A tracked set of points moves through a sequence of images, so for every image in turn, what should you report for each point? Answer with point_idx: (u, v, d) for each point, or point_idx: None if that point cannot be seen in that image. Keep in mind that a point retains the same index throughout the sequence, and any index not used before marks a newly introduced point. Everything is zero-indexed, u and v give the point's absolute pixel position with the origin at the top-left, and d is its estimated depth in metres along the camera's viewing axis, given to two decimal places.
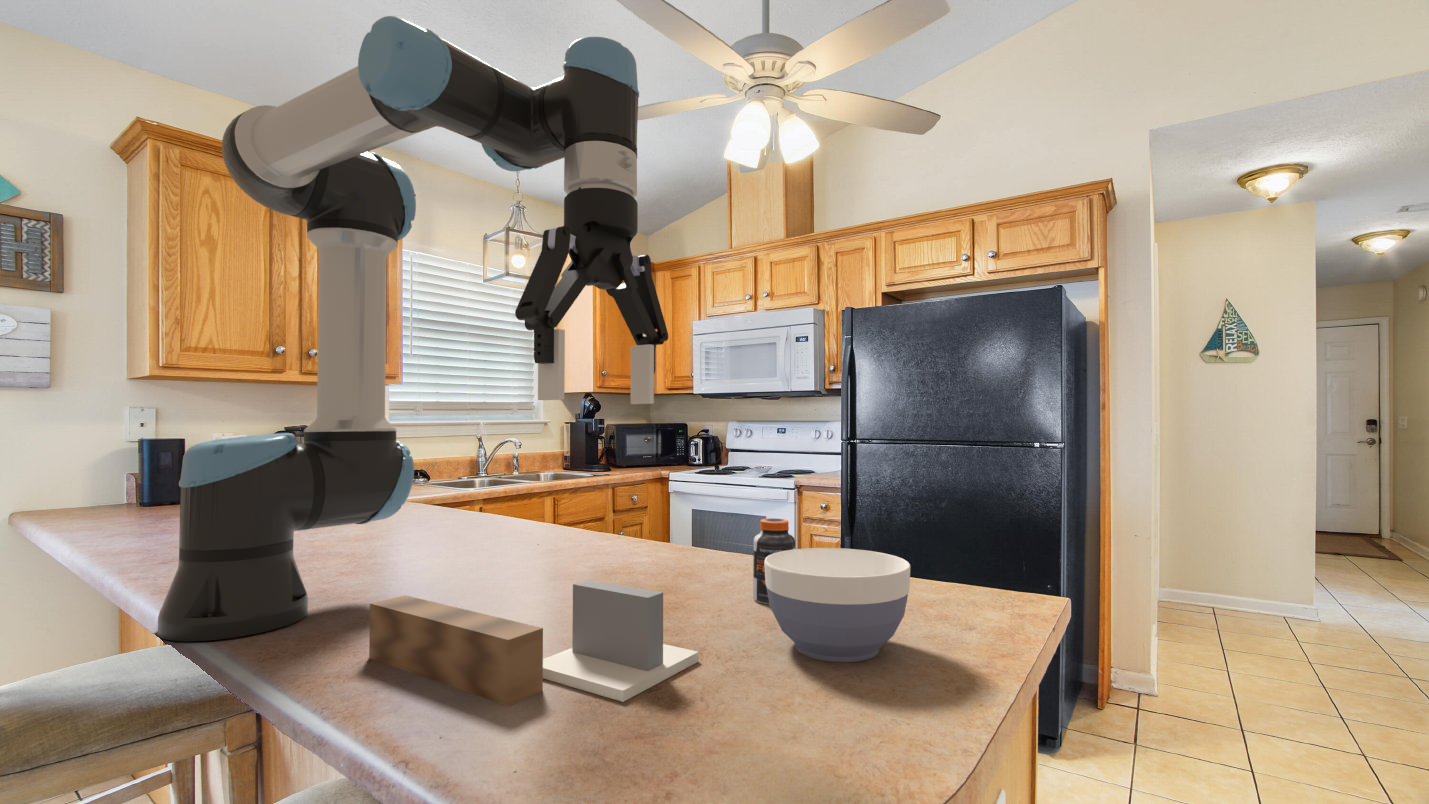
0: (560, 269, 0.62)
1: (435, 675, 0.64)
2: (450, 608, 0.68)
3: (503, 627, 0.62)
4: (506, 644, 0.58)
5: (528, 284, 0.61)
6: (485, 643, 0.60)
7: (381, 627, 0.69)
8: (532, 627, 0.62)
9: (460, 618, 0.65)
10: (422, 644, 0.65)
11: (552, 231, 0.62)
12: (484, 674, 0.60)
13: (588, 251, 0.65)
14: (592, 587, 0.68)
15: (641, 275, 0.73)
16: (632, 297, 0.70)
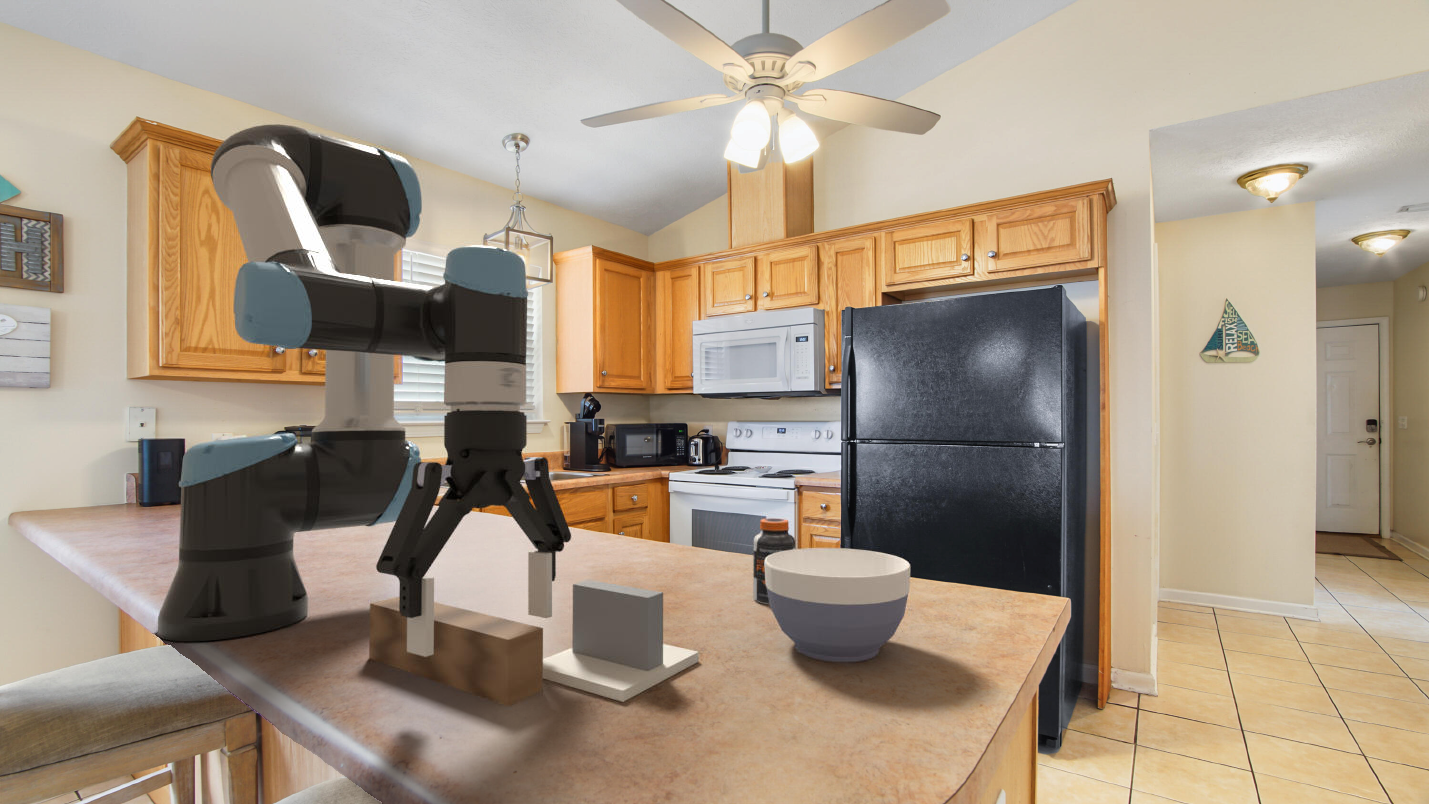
0: (428, 512, 0.57)
1: (435, 675, 0.64)
2: (450, 608, 0.68)
3: (503, 627, 0.62)
4: (506, 644, 0.58)
5: (393, 531, 0.57)
6: (485, 642, 0.60)
7: (381, 627, 0.69)
8: (532, 627, 0.62)
9: (460, 618, 0.65)
10: None
11: (422, 468, 0.58)
12: (484, 674, 0.60)
13: (466, 479, 0.60)
14: (592, 587, 0.68)
15: (537, 479, 0.68)
16: (523, 510, 0.66)
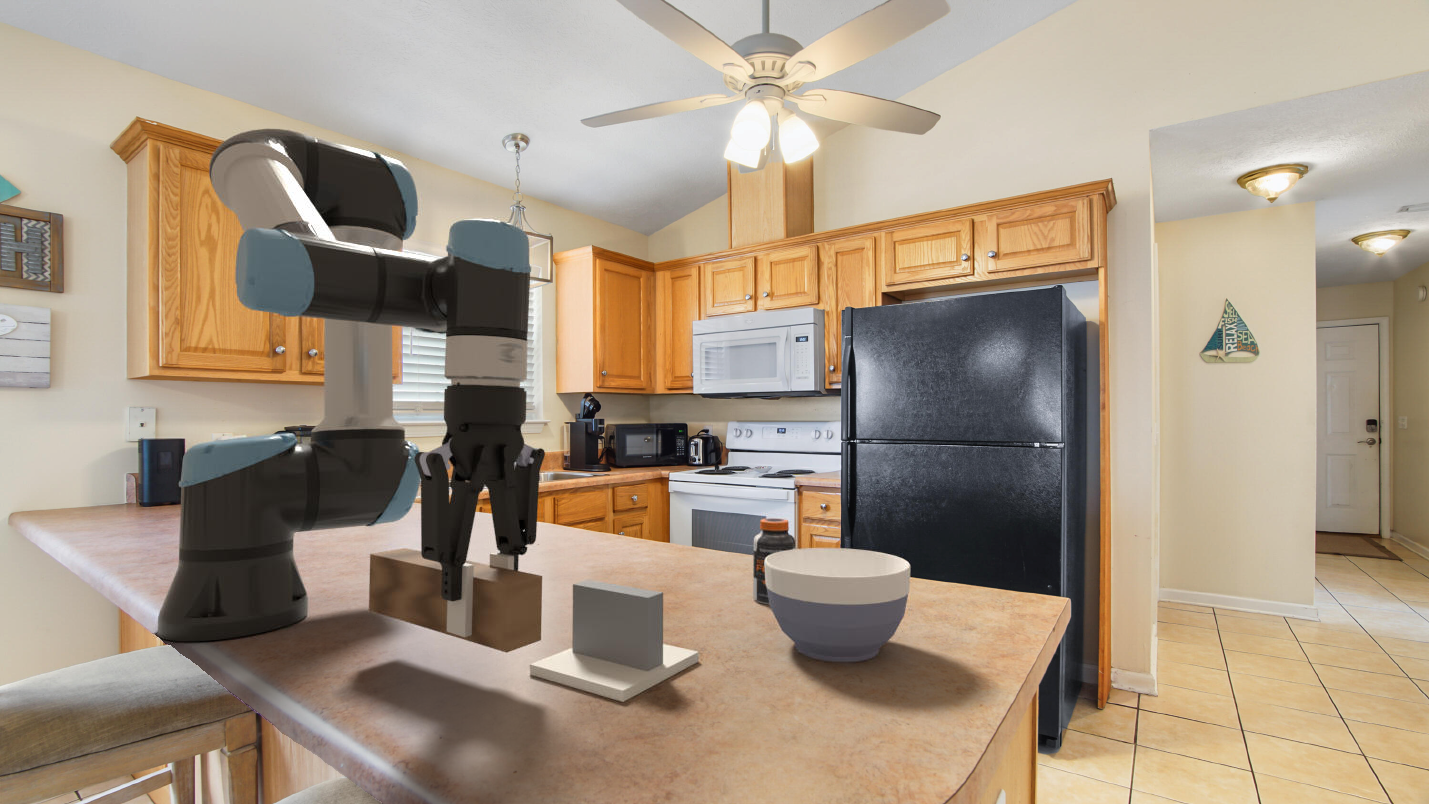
0: (447, 498, 0.59)
1: (434, 622, 0.64)
2: None
3: (503, 574, 0.62)
4: (505, 589, 0.59)
5: (422, 522, 0.59)
6: (485, 588, 0.60)
7: (381, 577, 0.69)
8: (531, 575, 0.62)
9: None
10: (422, 592, 0.65)
11: (423, 462, 0.58)
12: (483, 619, 0.60)
13: (468, 451, 0.61)
14: (592, 587, 0.68)
15: (528, 467, 0.68)
16: (505, 494, 0.65)
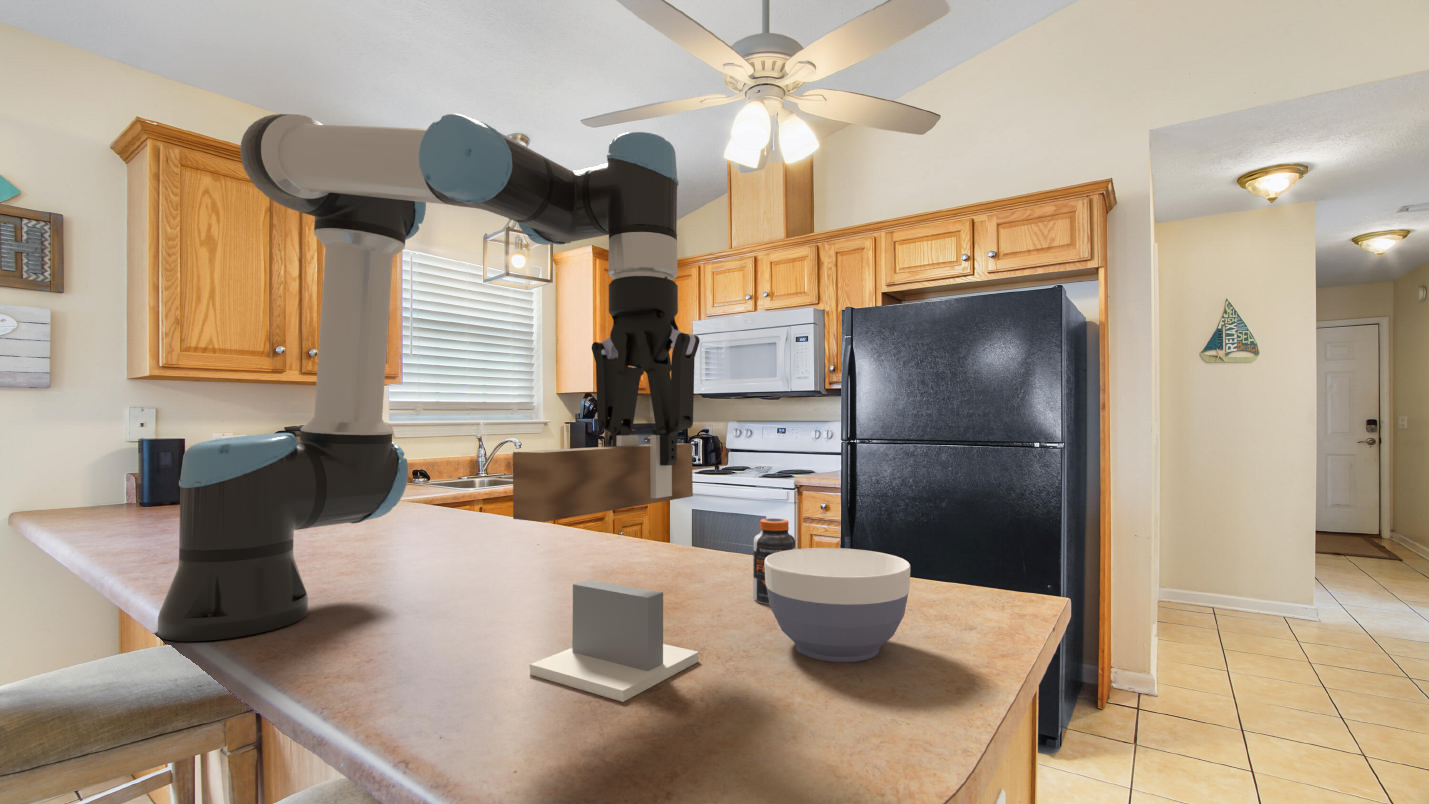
0: None
1: (631, 499, 0.67)
2: None
3: None
4: (690, 447, 0.75)
5: (681, 395, 0.68)
6: None
7: (562, 476, 0.59)
8: None
9: (627, 446, 0.69)
10: (617, 474, 0.65)
11: (693, 341, 0.68)
12: (675, 477, 0.73)
13: None
14: (592, 587, 0.68)
15: (614, 359, 0.75)
16: (639, 379, 0.74)
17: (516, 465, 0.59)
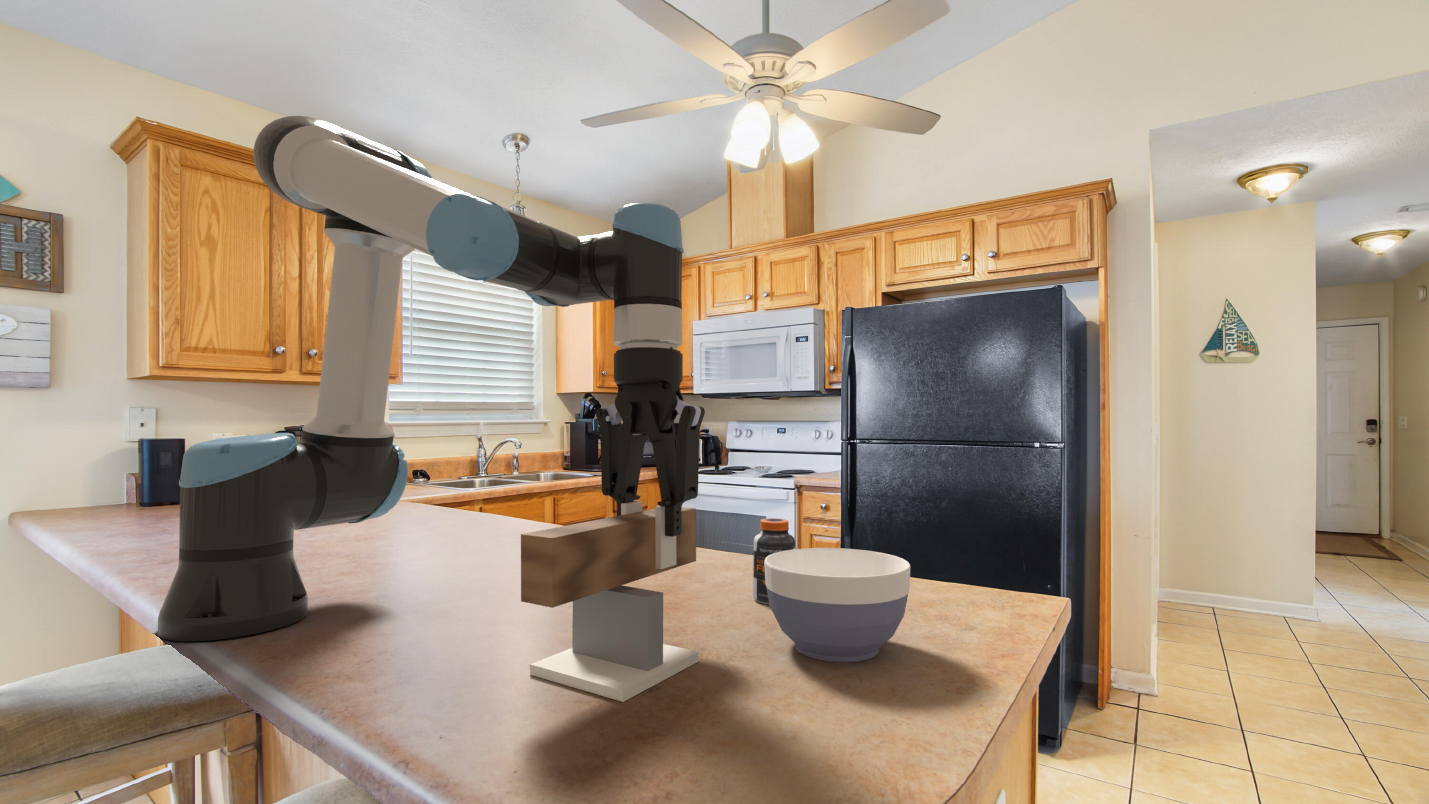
0: None
1: (637, 572, 0.67)
2: (593, 521, 0.67)
3: None
4: (694, 512, 0.76)
5: (686, 467, 0.68)
6: None
7: (570, 559, 0.59)
8: None
9: (632, 517, 0.69)
10: (623, 549, 0.65)
11: (698, 413, 0.69)
12: (679, 544, 0.73)
13: None
14: None
15: (618, 425, 0.75)
16: (643, 446, 0.74)
17: (524, 547, 0.59)
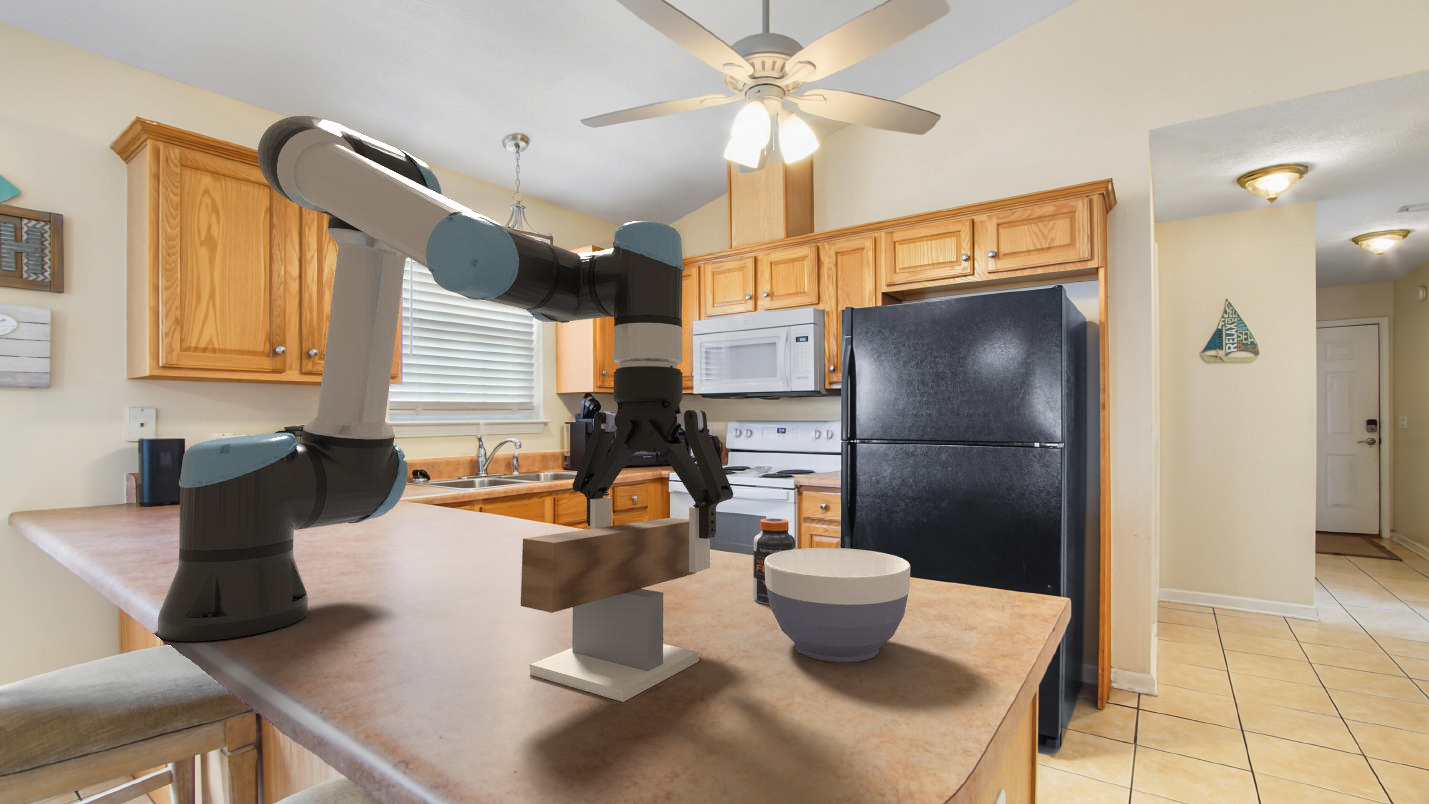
0: None
1: (637, 581, 0.67)
2: (595, 529, 0.67)
3: (664, 521, 0.74)
4: None
5: (710, 467, 0.66)
6: (681, 530, 0.73)
7: (571, 564, 0.59)
8: (666, 518, 0.77)
9: (634, 526, 0.69)
10: (624, 558, 0.65)
11: (700, 415, 0.69)
12: (679, 556, 0.73)
13: None
14: None
15: (611, 431, 0.76)
16: (629, 457, 0.75)
17: (526, 552, 0.59)
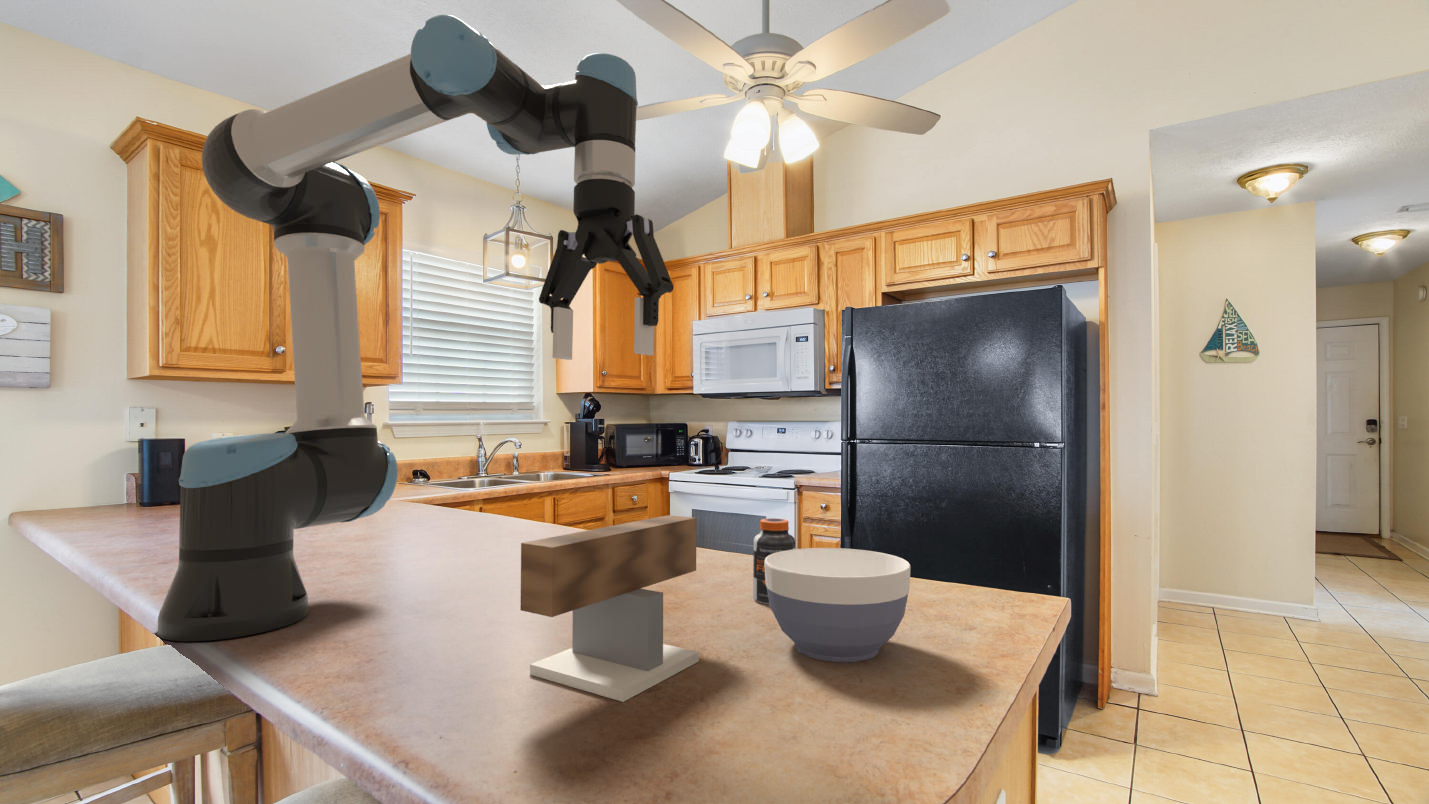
0: None
1: (637, 581, 0.67)
2: (594, 530, 0.67)
3: (663, 519, 0.74)
4: (694, 522, 0.76)
5: (653, 260, 0.76)
6: (680, 528, 0.73)
7: (570, 568, 0.59)
8: (665, 516, 0.77)
9: (633, 526, 0.69)
10: (623, 559, 0.65)
11: (646, 221, 0.79)
12: (679, 554, 0.73)
13: None
14: None
15: (573, 250, 0.86)
16: (588, 271, 0.85)
17: (524, 556, 0.59)
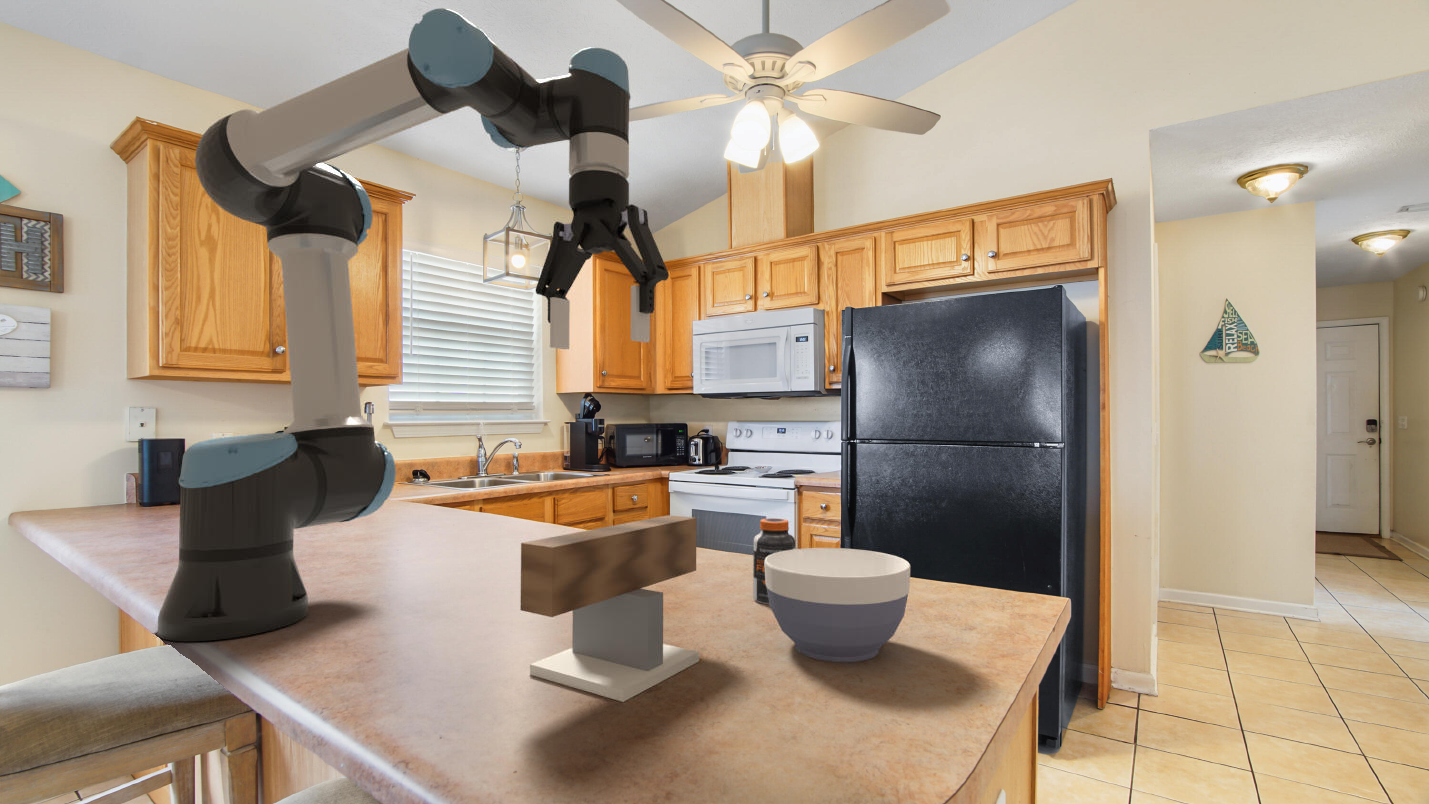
0: None
1: (637, 581, 0.67)
2: (594, 530, 0.67)
3: (663, 519, 0.74)
4: (694, 522, 0.76)
5: (648, 249, 0.78)
6: (680, 528, 0.73)
7: (570, 568, 0.59)
8: (665, 516, 0.77)
9: (633, 526, 0.69)
10: (623, 559, 0.65)
11: (641, 210, 0.80)
12: (679, 554, 0.73)
13: None
14: None
15: (569, 242, 0.87)
16: (584, 262, 0.87)
17: (524, 556, 0.59)
